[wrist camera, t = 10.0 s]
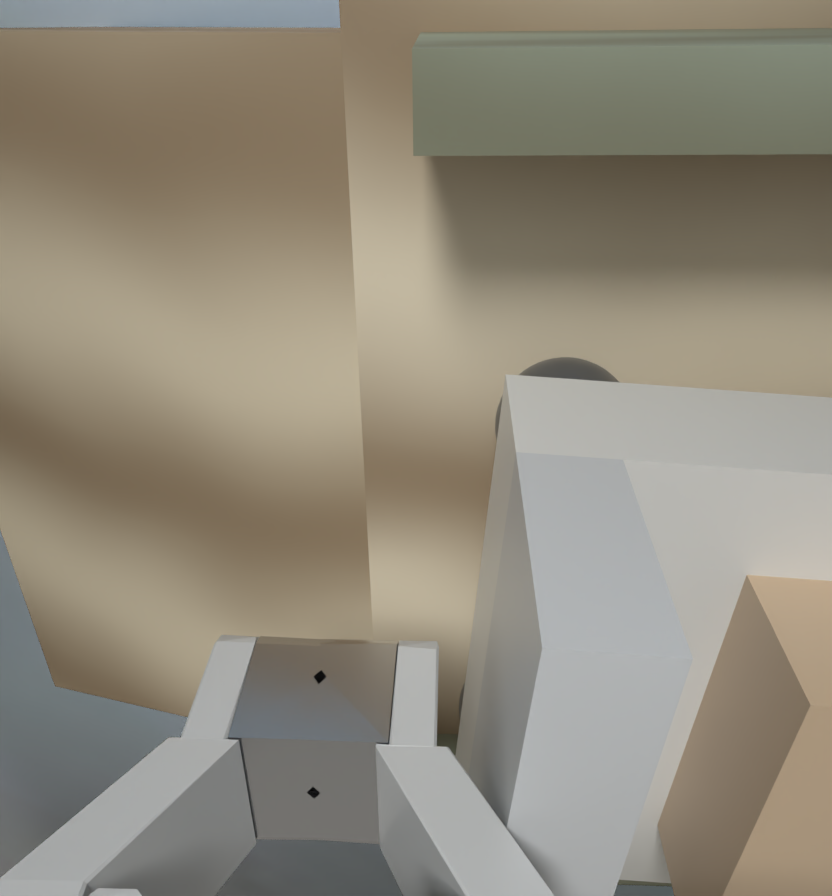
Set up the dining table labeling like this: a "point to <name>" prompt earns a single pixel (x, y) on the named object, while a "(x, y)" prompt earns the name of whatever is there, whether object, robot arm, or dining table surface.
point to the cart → (656, 635)
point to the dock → (369, 296)
